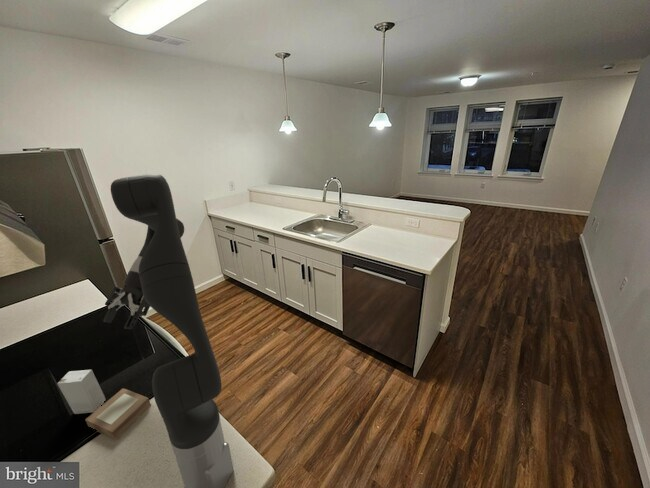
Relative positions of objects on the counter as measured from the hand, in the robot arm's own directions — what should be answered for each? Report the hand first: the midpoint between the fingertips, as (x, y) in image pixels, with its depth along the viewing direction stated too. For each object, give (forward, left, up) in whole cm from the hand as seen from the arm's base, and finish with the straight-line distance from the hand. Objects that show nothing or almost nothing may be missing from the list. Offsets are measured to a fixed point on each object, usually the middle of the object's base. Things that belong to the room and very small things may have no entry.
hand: (117, 325), depth 79 cm
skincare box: (+2, +12, -20) cm, 24 cm away
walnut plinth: (-9, +11, -20) cm, 25 cm away
